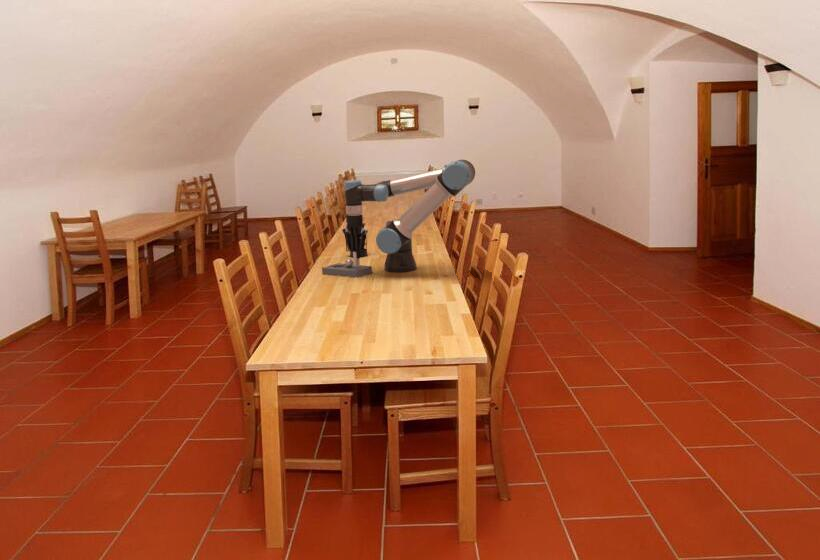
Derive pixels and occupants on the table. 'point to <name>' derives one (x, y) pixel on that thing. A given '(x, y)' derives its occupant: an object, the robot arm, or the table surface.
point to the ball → (349, 262)
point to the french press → (363, 252)
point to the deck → (347, 270)
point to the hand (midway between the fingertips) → (356, 265)
